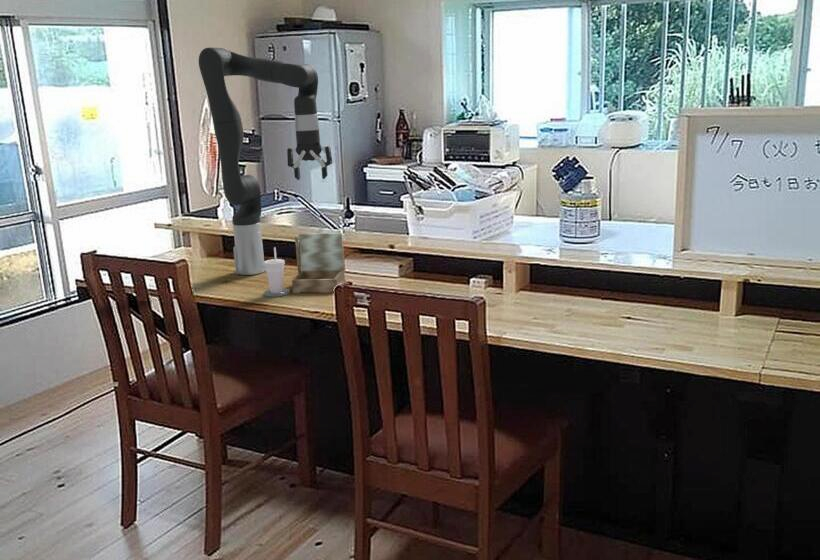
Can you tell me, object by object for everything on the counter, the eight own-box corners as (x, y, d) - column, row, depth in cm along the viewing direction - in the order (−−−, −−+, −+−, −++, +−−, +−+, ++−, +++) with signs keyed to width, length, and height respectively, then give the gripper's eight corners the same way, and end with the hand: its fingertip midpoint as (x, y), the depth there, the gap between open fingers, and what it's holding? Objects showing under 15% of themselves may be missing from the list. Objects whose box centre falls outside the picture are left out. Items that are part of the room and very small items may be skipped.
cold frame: (289, 292, 251) (284, 242, 247) (299, 282, 263) (295, 233, 259) (337, 292, 249) (333, 241, 245) (345, 281, 261) (341, 232, 257)
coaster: (260, 297, 247) (260, 295, 247) (268, 290, 255) (268, 288, 255) (286, 297, 246) (285, 295, 246) (292, 289, 254) (292, 288, 254)
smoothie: (285, 294, 247) (281, 249, 244) (264, 294, 248) (260, 250, 244) (288, 288, 254) (285, 244, 250) (268, 289, 254) (264, 245, 250)
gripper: (331, 126, 262) (335, 176, 266) (288, 128, 264) (292, 178, 268) (326, 128, 255) (330, 180, 259) (282, 130, 257) (286, 181, 261)
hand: (311, 179), depth 264 cm, fingers open, 8 cm apart
